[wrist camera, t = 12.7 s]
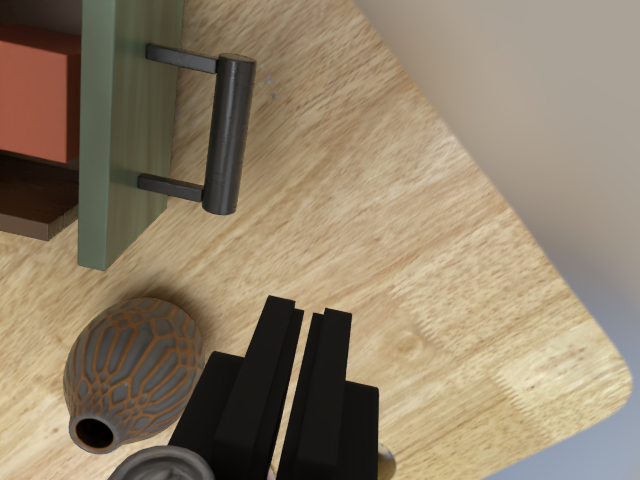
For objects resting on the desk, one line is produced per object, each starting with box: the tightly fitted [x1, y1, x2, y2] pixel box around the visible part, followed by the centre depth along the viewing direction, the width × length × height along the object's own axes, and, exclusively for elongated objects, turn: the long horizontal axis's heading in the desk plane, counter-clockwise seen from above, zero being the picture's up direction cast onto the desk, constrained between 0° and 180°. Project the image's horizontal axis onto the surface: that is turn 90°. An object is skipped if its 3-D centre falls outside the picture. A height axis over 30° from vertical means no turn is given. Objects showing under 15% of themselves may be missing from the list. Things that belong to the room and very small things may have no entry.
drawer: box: [0, 0, 257, 271], centre depth 25 cm, size 18×11×7 cm, turn 79°
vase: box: [63, 297, 205, 454], centre depth 30 cm, size 7×7×9 cm
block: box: [0, 24, 81, 163], centre depth 25 cm, size 4×4×4 cm
